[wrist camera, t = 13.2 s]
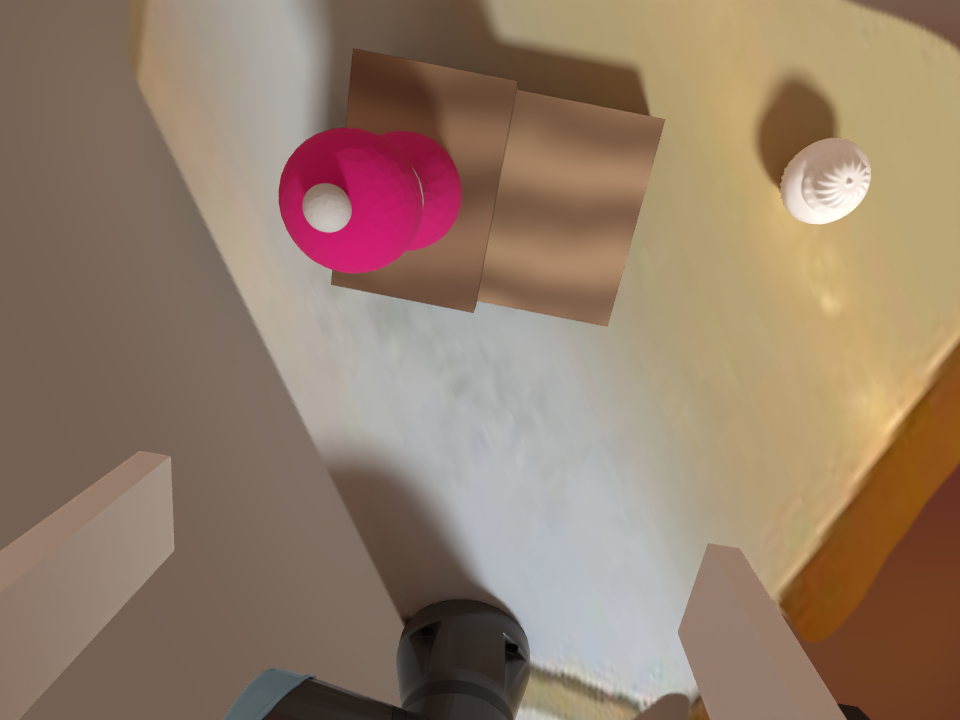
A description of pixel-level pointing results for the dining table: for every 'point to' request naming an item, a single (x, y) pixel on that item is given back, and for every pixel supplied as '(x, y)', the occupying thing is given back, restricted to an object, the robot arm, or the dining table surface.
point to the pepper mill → (367, 197)
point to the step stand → (511, 189)
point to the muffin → (825, 181)
